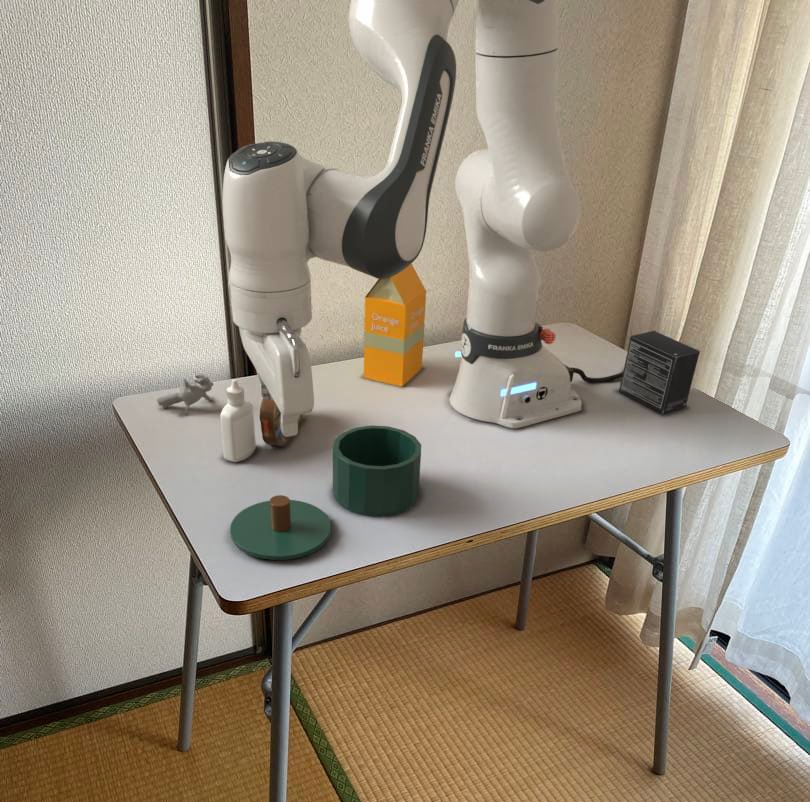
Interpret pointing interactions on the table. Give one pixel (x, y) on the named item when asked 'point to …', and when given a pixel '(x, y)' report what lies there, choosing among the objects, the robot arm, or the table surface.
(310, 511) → the lid
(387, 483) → the pot
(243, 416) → the eye dropper bottle
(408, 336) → the orange juice
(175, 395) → the grey creature figurine
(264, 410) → the tin
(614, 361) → the table surface
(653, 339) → the small box
